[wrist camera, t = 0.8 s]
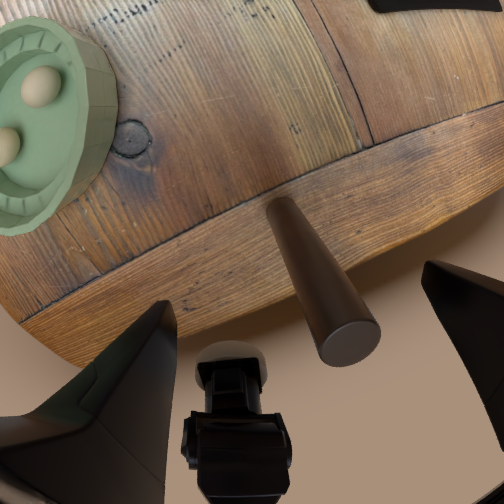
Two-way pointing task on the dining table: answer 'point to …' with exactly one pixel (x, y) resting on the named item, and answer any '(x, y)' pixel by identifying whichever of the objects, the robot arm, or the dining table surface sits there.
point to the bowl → (52, 120)
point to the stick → (323, 289)
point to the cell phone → (434, 5)
